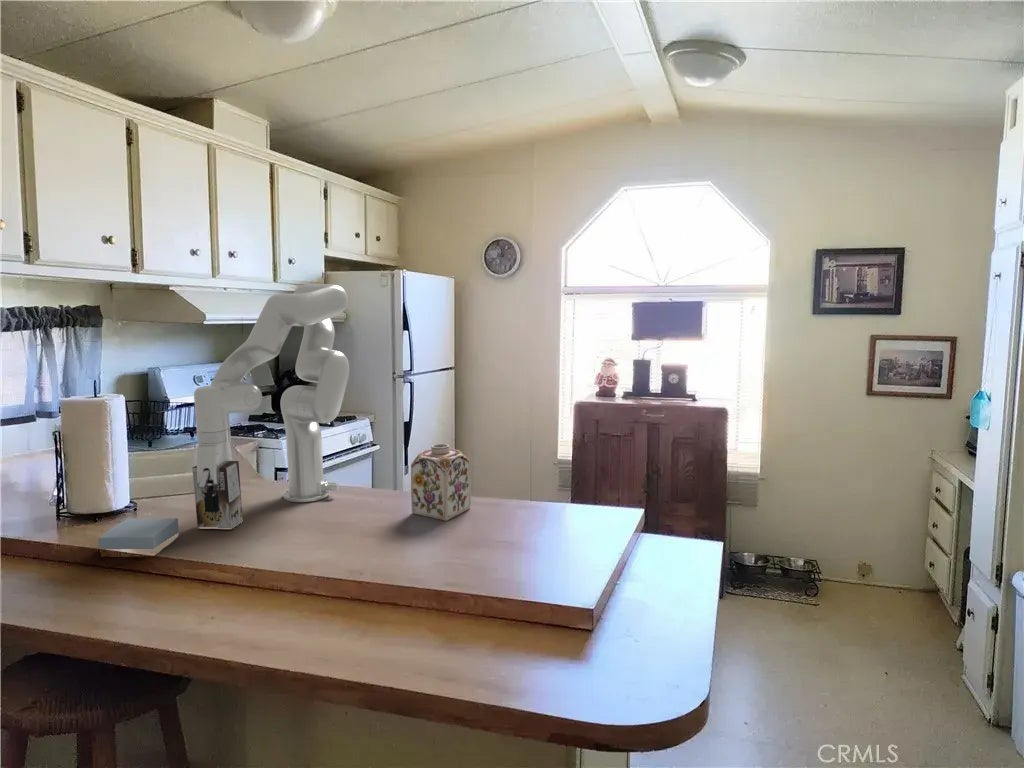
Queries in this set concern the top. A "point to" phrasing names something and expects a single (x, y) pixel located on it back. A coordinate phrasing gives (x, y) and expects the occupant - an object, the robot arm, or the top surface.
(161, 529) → the grey block
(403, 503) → the top surface
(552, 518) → the top surface
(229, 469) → the cookie box
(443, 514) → the decorative jar
